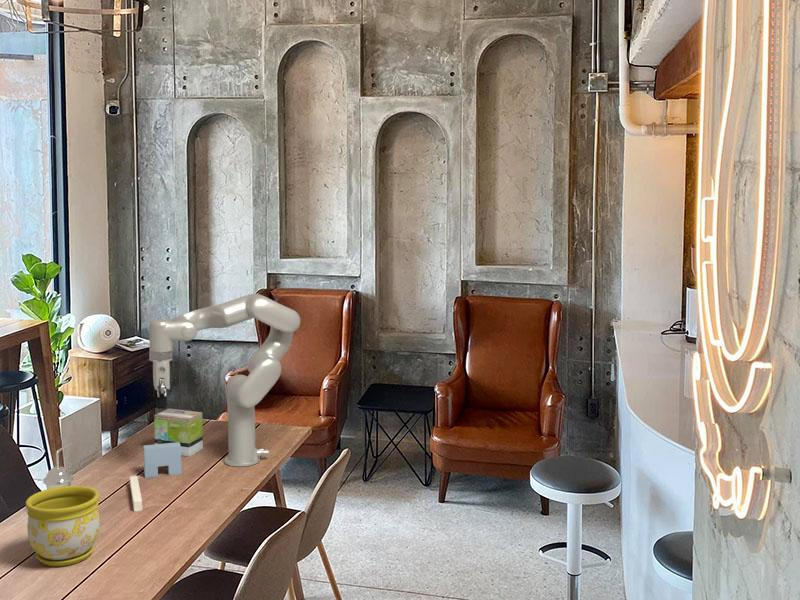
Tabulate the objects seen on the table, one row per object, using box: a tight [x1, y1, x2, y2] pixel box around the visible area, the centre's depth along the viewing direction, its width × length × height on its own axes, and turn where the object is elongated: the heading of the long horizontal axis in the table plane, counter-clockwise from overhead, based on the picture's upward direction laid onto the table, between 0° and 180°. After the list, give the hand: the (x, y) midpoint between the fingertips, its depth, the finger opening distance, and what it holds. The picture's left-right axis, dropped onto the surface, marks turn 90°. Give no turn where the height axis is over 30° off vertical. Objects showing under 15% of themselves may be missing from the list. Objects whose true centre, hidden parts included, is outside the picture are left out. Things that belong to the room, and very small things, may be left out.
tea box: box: [153, 408, 204, 458], centre depth 308 cm, size 15×10×15 cm
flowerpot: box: [25, 485, 101, 567], centre depth 218 cm, size 18×18×16 cm
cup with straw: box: [43, 442, 74, 490], centre depth 249 cm, size 8×9×20 cm
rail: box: [129, 475, 143, 512], centre depth 261 cm, size 2×24×3 cm, turn 21°
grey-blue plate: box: [143, 442, 182, 479], centre depth 283 cm, size 12×4×10 cm, turn 111°
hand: (160, 404), depth 281 cm, fingers open, 9 cm apart
